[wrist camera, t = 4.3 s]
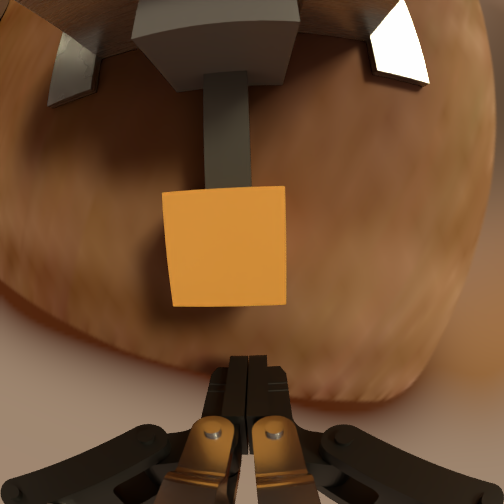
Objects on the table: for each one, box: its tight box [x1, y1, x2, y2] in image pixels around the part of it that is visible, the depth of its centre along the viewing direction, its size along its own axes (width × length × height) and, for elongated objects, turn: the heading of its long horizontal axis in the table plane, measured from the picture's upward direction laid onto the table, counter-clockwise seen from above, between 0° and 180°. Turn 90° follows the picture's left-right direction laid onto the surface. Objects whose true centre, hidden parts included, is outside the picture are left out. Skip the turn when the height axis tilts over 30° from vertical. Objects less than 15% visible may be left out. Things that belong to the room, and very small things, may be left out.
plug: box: [131, 0, 300, 307], centre depth 8 cm, size 12×4×5 cm, turn 2°
